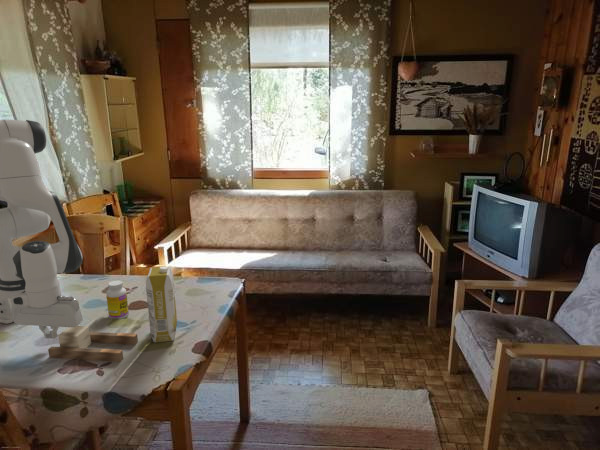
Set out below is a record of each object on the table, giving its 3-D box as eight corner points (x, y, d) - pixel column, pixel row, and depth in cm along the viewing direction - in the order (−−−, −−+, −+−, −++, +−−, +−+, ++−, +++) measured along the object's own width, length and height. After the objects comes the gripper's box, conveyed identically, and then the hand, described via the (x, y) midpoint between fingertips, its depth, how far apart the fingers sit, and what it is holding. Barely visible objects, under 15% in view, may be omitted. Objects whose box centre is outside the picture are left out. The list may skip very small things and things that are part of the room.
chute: (50, 361, 128) (47, 348, 127) (72, 342, 139) (70, 330, 138) (121, 365, 126) (119, 352, 125) (138, 345, 137) (137, 333, 136)
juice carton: (176, 342, 139) (170, 272, 133) (150, 344, 137) (143, 273, 131) (178, 328, 148) (172, 261, 141) (154, 330, 146) (147, 263, 140)
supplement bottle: (122, 321, 152) (117, 287, 149) (105, 319, 154) (100, 285, 150) (132, 312, 159) (129, 280, 155) (116, 311, 160) (112, 278, 157)
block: (61, 353, 130) (58, 335, 129) (73, 342, 136) (70, 325, 135) (80, 354, 130) (77, 336, 128) (91, 343, 136) (88, 326, 134)
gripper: (83, 292, 131) (89, 334, 135) (20, 290, 133) (27, 330, 137) (70, 301, 125) (77, 344, 129) (4, 298, 127) (13, 341, 131)
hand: (51, 337), depth 133 cm, fingers closed
